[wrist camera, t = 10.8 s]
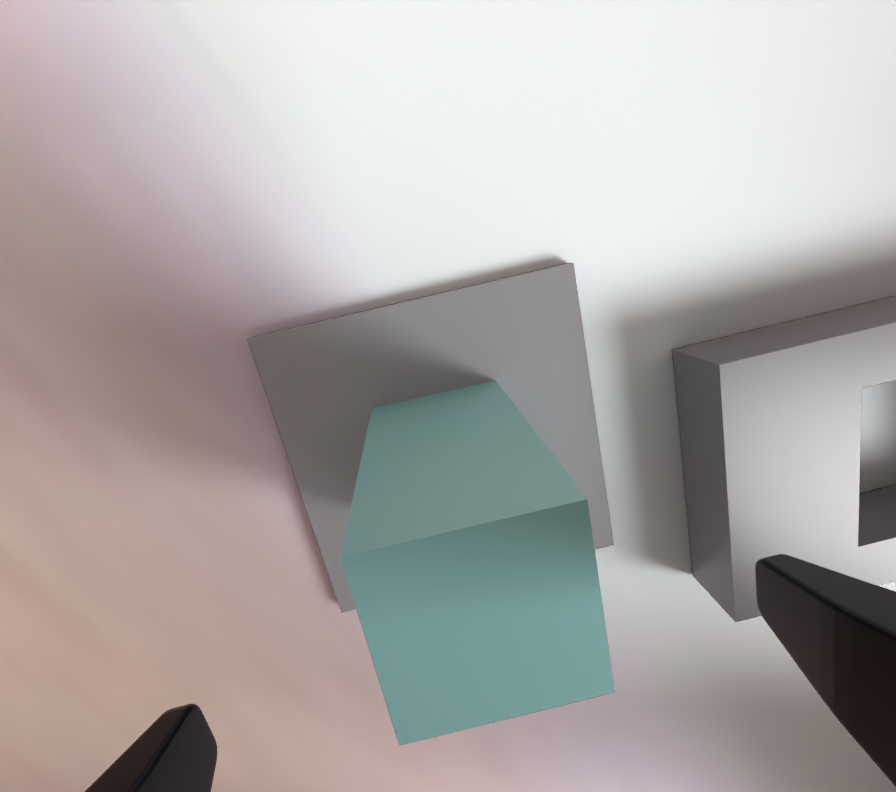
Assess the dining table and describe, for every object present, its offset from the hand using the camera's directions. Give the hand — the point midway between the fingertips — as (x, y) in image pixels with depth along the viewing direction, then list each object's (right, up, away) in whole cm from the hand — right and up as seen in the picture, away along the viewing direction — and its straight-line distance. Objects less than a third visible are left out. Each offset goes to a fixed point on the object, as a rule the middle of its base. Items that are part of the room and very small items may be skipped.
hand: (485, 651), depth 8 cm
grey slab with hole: (+15, +3, +10) cm, 18 cm away
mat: (-1, +2, +9) cm, 9 cm away
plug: (-1, +2, +8) cm, 9 cm away
